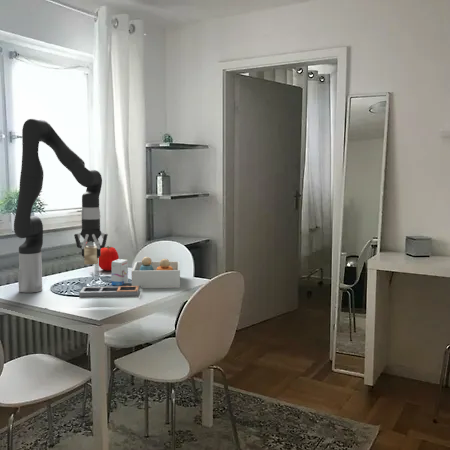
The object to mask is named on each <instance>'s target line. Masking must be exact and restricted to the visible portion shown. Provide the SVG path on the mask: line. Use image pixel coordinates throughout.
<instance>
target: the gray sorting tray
mask: <svg viewBox="0 0 450 450" xmlns="http://www.w3.org/2000/svg"><path fill="white" fill-rule="evenodd" d="M78 295H79V298H111V297H112V298H116V297H117V298H118V297H121V298H122V297H138V296H139V295H140V286H132V285H123V286H122V285H111V286H83V287H82V289H81V290H80V291H79V294H78Z"/></svg>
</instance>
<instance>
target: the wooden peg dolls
mask: <svg viewBox="0 0 450 450" xmlns="http://www.w3.org/2000/svg"><path fill="white" fill-rule="evenodd" d="M169 261H170V260H169V259H167V258H162V259H161V260H160V261H159V262H160V266H159V267H157V269H156V270H173V268H172V267H170V266H169V265H170V262H169ZM141 262H142V264H143V265H142V266H141V267H140V271H145V270H154V269H153V267H152V265H151V262H153V261H152V258H151V257H150V256H144V257H143V258H142V259H141Z"/></svg>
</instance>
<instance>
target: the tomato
mask: <svg viewBox="0 0 450 450" xmlns="http://www.w3.org/2000/svg"><path fill="white" fill-rule="evenodd" d="M118 253H119V252H118V251H117V250H116V248H114V247H112V246H109V245H107V246H105V247H104V248H101V256H100V257H99V265H98V266H99V268H100V269H101V270H102V271H112V261H115V260H117V259H120V258H119V254H118Z"/></svg>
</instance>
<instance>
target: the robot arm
mask: <svg viewBox="0 0 450 450" xmlns="http://www.w3.org/2000/svg"><path fill="white" fill-rule="evenodd" d="M21 131H22V133H21V135H22V137H21V138H22V143H21V147H22V153H21V154H22V156H21V168H20V169H21V170H20V176H19V191H18V199H17V206H16V211H15V215H14V221H13V231H14V234H15V235H16V237H17V238H19V239H25V241H23V243H22V244H21V245H20V246H18V264H19V265H18V266H19V270H18V271H17V272H18V273H17V278H18V279H17V280H18V293H26V294H30V293H37V292H41V291H43V271H42V270H43V266H42V263H43V262H42V247H43V244H44V241H43V240H44V226H43V225H44V224H43V222H42V220H41V218H40V217H38V216H37V215H32V209H33V206H34V204H35V203H36V200H37V199H38V197H39V196H40V193H41V191H42V190H43V184H44V169H43V166H42V163H41V160H40V157H39V146H40V142H42V143H43V144H45V145H47V146H48V147H49V148H51V150H53V153H55V156H56V157H57V159H58V161H59V162H60V163H61V165H62V166H63V167H65V168H66V169H67V170H68V171H69V172H71V174H72V175H73V178H74V179H75V180H76V182H78V183H79V185H81V186H83V187H84V188H86V189H85V192H84V193H83V194H82V196H81V231H80V232H78V233H74V235H73V236H74V239H75V243H76V248H79V249H81V257H83V259H84V247H86V246H87V244H88V243H89V242H91V243H94V244H95V246H97V258H99V257H100V256H101V248H104V247H106V245H107V244H106V243H107V241H108V240H107V239H108V236H109V234H108V233H107V232H106V233H103V232H102V231H101V210H100V194H101V190H102V187H103V186H102V185H103V177H102V173H100V171H98V170H96V169H88V168H87V167H86V165H85V164H86V163H85V161H84V160H83V159H82V158H81V157H80V156H79V155H78V154H77V153H76V152H74V151H73V149H71V148H70V147H69V146H68V145H67V144H66V143H65V141H64V140H63V139H62V138H61V137H60V136H59V134H58V133H57V132H56V130H55V129H54V128H53V127H52V125H51V124H50V123H49V122H48V121H46V120H43V119H36V118H29V119H27V120H25V121H24V123H23V126H22V130H21ZM81 237H82V238H83V242H82V243H81V241H80V238H81ZM100 237H101V239H102V243H100V240H99V239H100Z"/></svg>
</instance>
